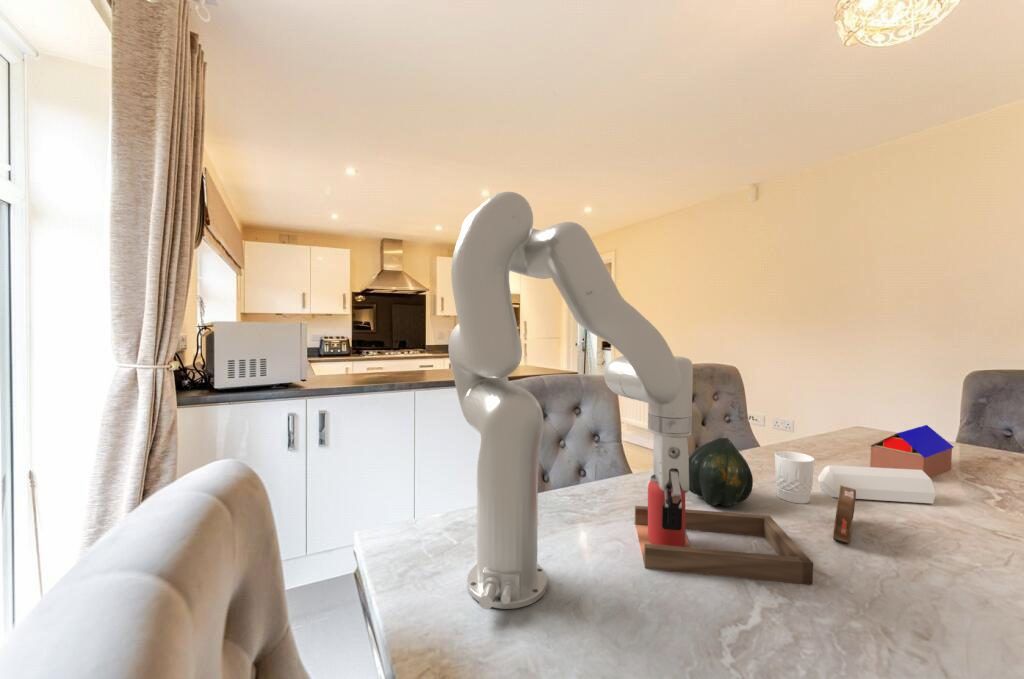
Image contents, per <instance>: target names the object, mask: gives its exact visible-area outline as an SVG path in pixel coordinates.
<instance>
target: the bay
mask: <svg viewBox="0 0 1024 679" xmlns="http://www.w3.org/2000/svg"><path fill="white" fill-rule="evenodd" d="M634 525H636V526H635V529H636V534H638V535H637V539H638V538H639V539H638V543H639V547H641V548H640V552H641V557H642V556H643V557H642V560H643V566H644V565H645V566H644V568H645V569H648V568H651V570H658V569H659V570H658V571H669V572H670V571H671V572H682V573H689V574H690V573H691V574H700V575H709V576H710V575H712V576H720V577H721V576H722V577H732V578H742V579H753V580H761V581H762V580H763V581H771V582H772V581H773V582H780V583H781V582H782V583H792V584H801V585H812V586H813V579H814V575H813V574H814V562H813V561H812V560H811V559H810V558H809V557H808V556H807V555H806V554H805V553H804V551H803V550H802V549H801V548H800V547H799V546H798V545H797V544H796V543H795V541H794V540H792V539H791V537H790V536H789V535H788V533H786V532H785V531H784V530H783V529H782V528H781V526H780V525H779V524H778V523H777V522H776V521H775V520H774V519H773V518H772V517H771V515H768V514H765V515H764V514H754V513H753V514H752V513H740V512H738V513H737V512H726V511H712V510H699V509H686V508H685V529H688V530H687V531H696V530H700V531H699V532H708V531H711V533H720V532H723V534H733V535H734V534H735V535H736V534H737V535H744V536H745V535H748V536H758V537H759V536H760V537H764V538H765V540H766V541H767V543H769V545H770V546H771V547H772V548H773V550H774V551H775V552H776V554H770V553H769V554H767V553H755V552H748V551H747V552H746V551H745V552H744V551H733V550H723V549H710V548H699V547H692V546H691V544H690V542H689V539H688V538H687V536H686V535H687V534H685V545H684V546H683V547H679V546H668V545H657V544H652V543H651V542H650V541H649V539H648V505H634ZM689 529H690V530H689Z"/></svg>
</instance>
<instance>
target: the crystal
mask: <svg viewBox="0 0 1024 679" xmlns="http://www.w3.org/2000/svg"><path fill="white" fill-rule="evenodd" d="M817 480H818V485H819V488H820V490H821V491H822V492H823V493H825V494H827V495H828V496H829V497H830V498H837V499H838V496H839V490H840V485H842V486H844V487H848V488H852V489H855V490H856V499H855V500H871V501H872V500H873V501H888V502H889V501H890V502H903V503H919V504H934V502H935V499H936V495H937V490H936V486H935V483H934V482H933V480H932V478H930V477H929V476H928V475H926V474H925V473H924V472H923V471H922V470H913V469H894V468H875V467H870V466H854V465H853V466H852V465H834V464H833V465H831V464H829V465H827V466H824V468H823V469H822V470H821V472H820V474H819V475H818V477H817Z"/></svg>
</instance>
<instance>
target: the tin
mask: <svg viewBox="0 0 1024 679" xmlns="http://www.w3.org/2000/svg"><path fill="white" fill-rule="evenodd" d="M856 500H857V499H856V490H855V489H852V488H848V487H844V486H842V485H840V490H839V496H838V498H837V504H836V512H835V520H834V527H833V536H832V539H833V540H836V541H838V542H842V543H846V544H850V543H851V538H852V536H851V535H852V522H853V519H854V514H855V507H856Z"/></svg>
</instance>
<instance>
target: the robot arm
mask: <svg viewBox="0 0 1024 679" xmlns="http://www.w3.org/2000/svg"><path fill="white" fill-rule="evenodd" d="M532 210H533V209H532V207H531V204H530V203H529V201H528V200H527V198H525V197H524V196H523V195H521V194H520V193H517V192H514V191H502V192H499V193H496V194H494V195H492V196H490V197H489V198H487V199H486V200H484V202H483V203H481V204H480V205H479V206H478V207H477V208H475V209H474V210H473V211H472V212H470V213H469V214H468V215H467V217H465V219H464V220H463V222H462V224H461V227H460V232H459V233H460V234H459V236H458V239H457V240H456V244H455V247H454V250H453V253H452V254H453V255H452V259H451V266H450V267H451V270H450V272H451V273H450V276H451V278H450V280H451V288H452V294H453V298H454V305H455V311H456V317H457V320H458V323H457V324H456V325H455V327H454V328H453V330H452V332H451V333H450V335H449V338H448V339H449V341H448V357H449V363H450V367H451V372H452V376H453V380H454V384H455V388H456V393H457V397H458V401H459V405H460V409H461V411H462V415H463V417H464V419H465V420H466V422H467V423H468V425H469V426H471V428H472V429H473V430H475V431H476V432H478V433H479V434H480V447H479V452H478V458H477V464H476V466H477V467H476V564H475V565H474V566H473V567H471V569H470V570H469V572H468V574H467V580H466V582H467V583H466V584H467V585H466V586H467V590H468V593H469V595H471V597H472V598H473V599H475V600H476V601H477V602H479V605H480V607H481V608H482V609H484V610H489V609H492V608H494V609H502V610H503V609H504V610H509V609H510V610H512V609H519V608H520V609H521V608H523V607H527V606H529V605H531V604H534V603H536V602H537V601H538V600H539V599H541V598H542V597H543V596H544V595H545V593H546V591H547V589H548V575H547V573H546V570H544V568H543V567H542V566H541V565H540V564H539V563H538V532H539V531H538V522H539V520H538V519H539V518H538V517H539V515H538V514H539V513H538V511H539V510H538V509H539V508H538V507H539V505H538V504H539V503H538V502H539V501H538V499H539V498H538V497H539V495H538V494H539V492H538V491H539V487H538V486H539V479H538V478H539V459H540V457H539V456H540V449H541V443H542V438H543V432H544V414H543V413H544V412H543V409H542V407H541V405H540V403H539V401H538V400H537V398H536V397H535V396H534V395H533V394H532V393H531V392H529V391H528V389H525V388H524V387H522V386H520V385H516V384H513V383H512V382H510V381H509V377H508V376H510V375H512V374H513V373H514V372H515V371H516V370H517V369H518V367H519V366H520V363H521V361H522V356H523V347H522V341H521V337H520V332H519V327H518V323H517V319H516V314H515V309H514V305H513V300H512V292H511V287H510V272H512V273H516V274H519V275H522V276H526V277H529V278H530V277H531V278H534V279H540V280H547V279H552V281H553V283H554V284H555V286H556V288H557V289H558V291H559V293H560V295H561V297H562V299H563V300H564V303H565V304H566V305H567V307H568V310H569V311H570V313H571V314H572V316H573V318H574V320H575V321H576V323H577V324H578V325H580V326H581V327H582V328H583V329H584V330H587V332H589V333H591V334H593V335H594V336H596V337H599V338H600V339H602V340H603V341H604V342H607V343H608V344H610V345H611V346H612V347H614V348H615V350H617V351H618V352H619V353H620V354H621V355H622V356H618V357H615V358H614V359H612V360H611V361H610V362H609V363H608V364H607V366H606V368H605V370H604V374H603V375H604V376H603V378H604V381H605V384H606V386H607V388H608V389H610V391H612V392H613V393H614V394H616V395H618V396H620V397H623V398H627V399H630V400H635V401H641V402H644V403H646V404H647V405H648V410H647V411H648V412H647V432H649V433H651V434H653V449H652V450H653V452H652V456H653V459H652V463H653V466H652V467H653V475H654V474H655V477H656V480H657V481H658V485H659V487H660V489H661V490H662V491H663V493H664V505H662V527H663V529H670V530H681V529H682V502H681V490H680V487H681V489H682V491H684V492H685V494H688V492H690V490H689V456H690V455H689V445H688V444H689V443H688V436H691V435H692V423H693V421H692V420H693V419H692V418H693V377H694V371H693V370H694V368H693V367H694V366H693V362H692V361H691V359H689V358H687V357H684V356H678V355H677V356H674V354H673V352H672V350H671V347H670V346H669V344H668V342H667V340H666V339H665V337H664V335H662V334H661V332H660V331H659V330H658V329H657V327H656V326H654V325H653V324H652V323H651V321H650V320H648V319H647V318H646V317H645V316H644V315H643V314H642V313H640V312H639V311H638V310H637V309H636V308H635V307H634V306H632V304H630V303H628V301H626V300H625V299H624V297H623V295H622V294H621V293H620V291H619V289H618V287H617V285H616V284H615V281H614V279H613V277H612V276H611V274H610V272H609V270H608V268H607V266H606V264H605V263H604V260H603V259H602V257H601V255H600V253H599V251H598V249H597V247H596V245H595V243H594V242H593V239H592V238H591V236H590V234H589V233H588V231H587V230H586V228H584V227H583V226H582V225H581V224H579V223H577V222H573V221H564V222H559V223H555V224H552V225H550V226H548V227H546V228H543V229H536V228H533V226H534V215H533V211H532ZM666 486H671V489H669V488H666ZM668 493H671V496H669V498H668Z"/></svg>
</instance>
